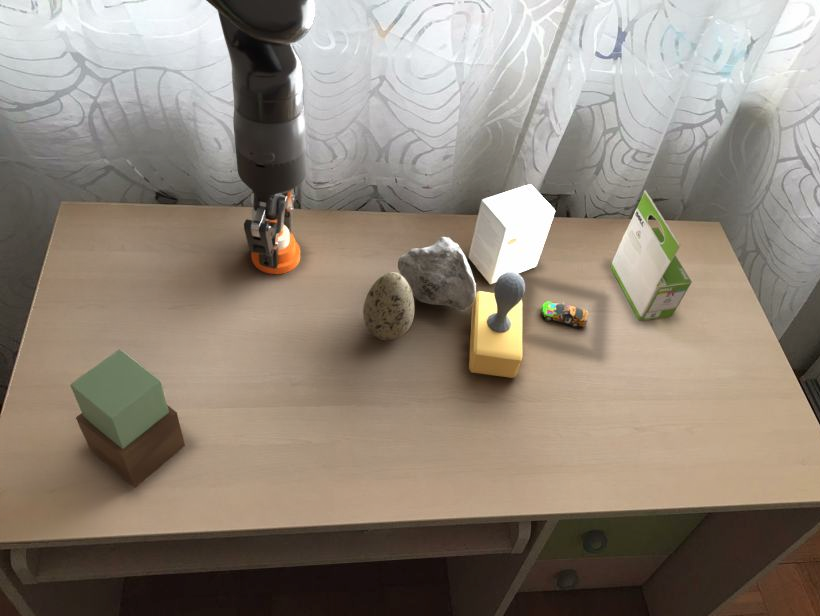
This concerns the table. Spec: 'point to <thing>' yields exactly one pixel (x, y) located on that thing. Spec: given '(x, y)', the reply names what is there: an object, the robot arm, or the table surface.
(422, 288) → the stone
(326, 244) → the table surface
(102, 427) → the sage block
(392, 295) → the decorative egg
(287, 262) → the cone
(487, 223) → the small box
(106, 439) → the walnut block
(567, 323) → the toy car
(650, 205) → the ink box
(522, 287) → the rubber stamp
